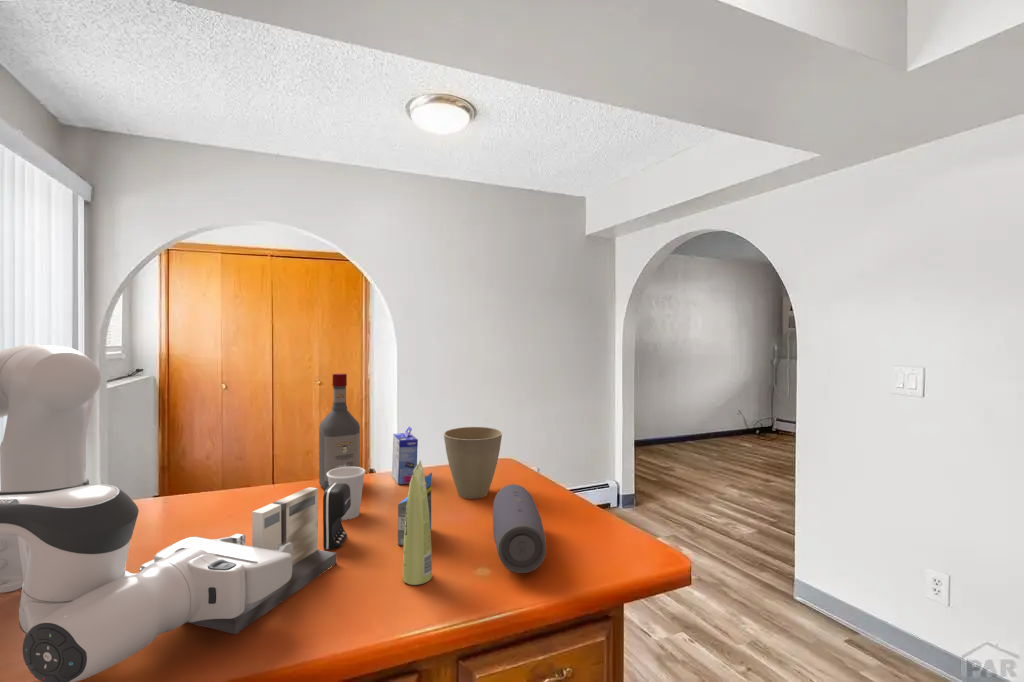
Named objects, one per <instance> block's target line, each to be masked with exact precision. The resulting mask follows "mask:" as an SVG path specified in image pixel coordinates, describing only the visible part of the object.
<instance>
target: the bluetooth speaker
mask: <svg viewBox="0 0 1024 682" xmlns="http://www.w3.org/2000/svg"><path fill="white" fill-rule="evenodd" d="M542 521H543V520H542V518H541V515H540V512H539V509H538V508H537V504H536V503H535V500H534V498H533V497H532V494H531V493H530V492H529V491H528V489H526V488H525V487H523V486H522V485H519V484H515V483H514V484H513V483H512V484H506V485H505V486H503V487H502V488H500V489H499V491H498V492H497V493H496V495H495V497H494V499H493V504H492V527H493V529H492V530H493V539H494V543H495V548H496V552H497V556H498V558H499V560H500V562H501V563H502V565H503V566H504V568H506V569H507V570H508V571H510V572H513V573H515V574H516V573H517V574H525V573H531V572H533V571H535V570H536V569H538V568H539V567H540V566H541V565H542V563H543V562H544V560H545V557H546V554H547V541H546V535H545V531H544V525H543V522H542Z"/></svg>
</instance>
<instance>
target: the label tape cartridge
mask: <svg viewBox="0 0 1024 682" xmlns="http://www.w3.org/2000/svg"><path fill="white" fill-rule="evenodd" d="M432 476H433V472H430V473H429V474H427V476H425V483H426V490H427V498H428V507H429V518H430V531H431V530H432V479H433V477H432ZM407 499H408V496H406V497H405V498H404V499H403V500H401V501H400V502H399V503H398V504H397V545H398V546H399V545H401V546H400V547H404V528H405V516H406V506H407Z"/></svg>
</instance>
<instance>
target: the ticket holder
mask: <svg viewBox="0 0 1024 682" xmlns="http://www.w3.org/2000/svg"><path fill="white" fill-rule="evenodd" d="M272 504H279V505H281V543H282V542H290V543H293V552H292V554H291V555H292V576H291V579H290V580H289V581H288V582H287V583H286V584H285V585H283V586H282V587H280V588H279V589H277V590H276V591H274V592H273V593H271V594H270V595H268V596H267V597H265V598H263V599H262V600H260V601H257V602H255V603H252V604H248V605H245V609H244V612H243V613H242V614H240V615H239V616H237V617H235V618H232V619H209V620H201V621H197V622H187V623H189V624H193V625H195V626H200V627H204V628H209V629H212V630H216V631H221V632H225V633H229V634H233V635H237V634H239V632H241V631H243V630H244V629H246V628H247V627H249V626H250V625H251V624H253V623H254V622H255V621H257V620H258V619H259V618H261V617H262V616H264V615H265V614H267V613H268V612H269V611H271V610H272V609H274V608H275V607H277V606H278V605H280V604H282V603H283V602H284V601H285V600H287V599H289V598H290V597H291V596H292V595H294V594H295V593H297V592H298V591H300V590H301V589H303V588H304V587H306V586H307V585H308V584H310V583H311V582H313V581H314V580H315V579H317V578H318V577H320V576H321V575H323V574H324V573H325V572H324V571H326V570H327V569H328V568H330V567H331V566H333V565H334V564H336V565H337V552H333V551H328V550H322V549H319V488H318V487H317V488H316V487H309V486H308V487H306V488H303V489H302V490H299V491H296V492H294V493H291V494H290V495H287V496H285V497H283V498H280V499H278V500H275V501H272ZM334 566H335V565H334ZM334 566H333V567H334ZM331 568H332V567H331ZM331 568H330V569H331ZM328 570H329V569H328ZM328 570H327V571H328ZM327 571H326V572H327ZM323 572H324V573H323ZM322 573H323V574H322ZM320 574H321V575H320ZM319 575H320V576H319ZM316 577H317V578H316ZM313 579H314V580H313ZM312 580H313V581H312ZM309 582H310V583H309Z"/></svg>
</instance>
